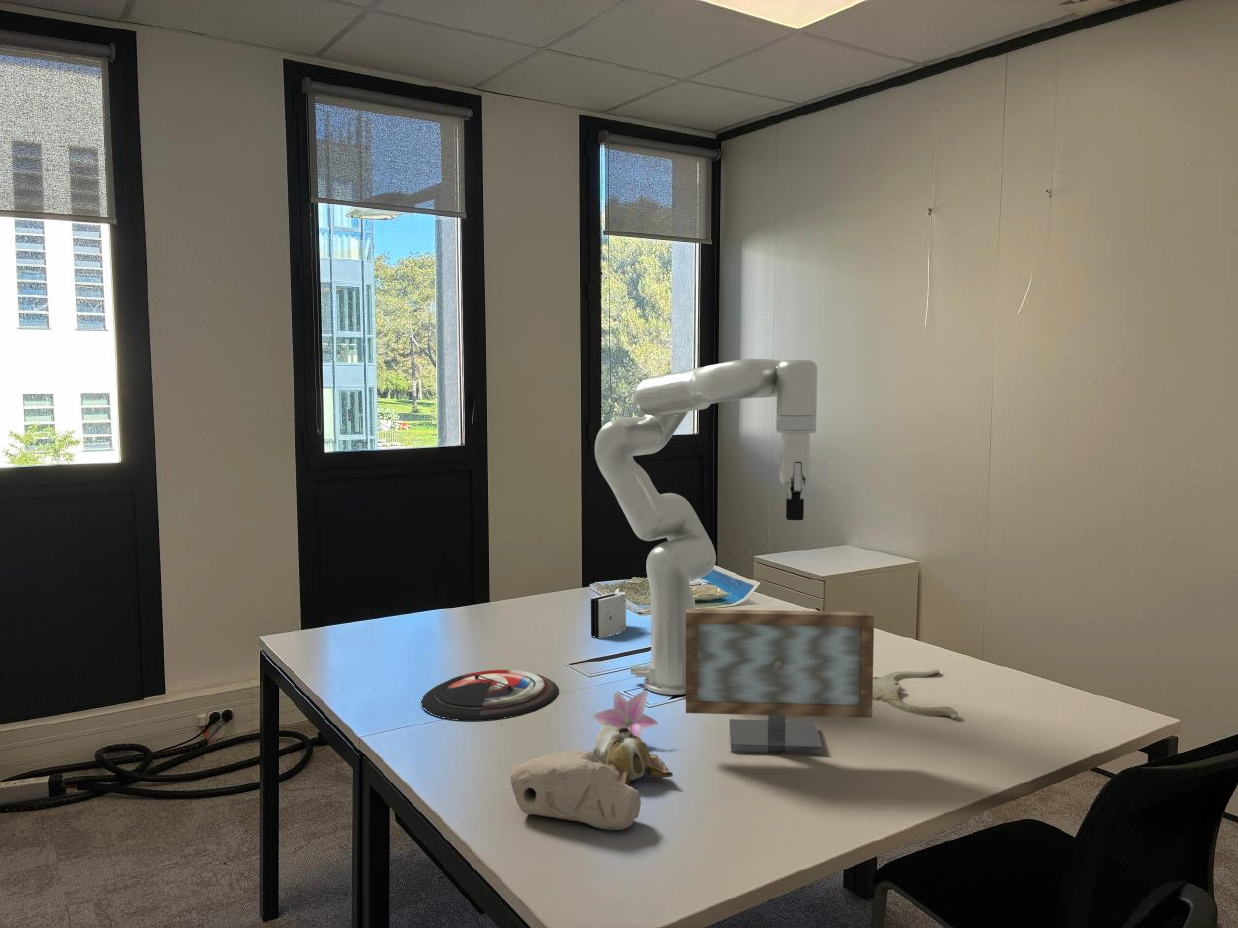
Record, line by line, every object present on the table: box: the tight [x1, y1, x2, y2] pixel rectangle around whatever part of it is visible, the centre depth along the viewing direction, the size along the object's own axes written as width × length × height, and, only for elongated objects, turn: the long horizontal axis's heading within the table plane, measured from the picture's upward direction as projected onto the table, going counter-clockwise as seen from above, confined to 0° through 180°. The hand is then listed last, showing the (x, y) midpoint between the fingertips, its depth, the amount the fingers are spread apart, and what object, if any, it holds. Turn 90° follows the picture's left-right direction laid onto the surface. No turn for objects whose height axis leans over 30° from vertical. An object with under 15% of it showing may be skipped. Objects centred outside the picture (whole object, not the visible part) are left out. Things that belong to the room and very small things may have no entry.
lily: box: [592, 690, 658, 741], centre depth 172 cm, size 11×11×9 cm
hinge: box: [590, 588, 627, 639], centre depth 243 cm, size 14×5×10 cm, turn 147°
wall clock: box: [420, 669, 559, 721], centre depth 197 cm, size 27×5×30 cm
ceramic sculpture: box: [592, 722, 674, 786], centre depth 157 cm, size 11×9×15 cm
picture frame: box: [685, 608, 875, 719], centre depth 163 cm, size 32×3×18 cm, turn 85°
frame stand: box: [729, 715, 823, 756], centre depth 171 cm, size 16×12×19 cm
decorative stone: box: [509, 750, 642, 831], centre depth 143 cm, size 20×8×10 cm, turn 69°
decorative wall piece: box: [872, 669, 959, 720], centre depth 198 cm, size 30×3×30 cm
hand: (794, 519), depth 181 cm, fingers closed
